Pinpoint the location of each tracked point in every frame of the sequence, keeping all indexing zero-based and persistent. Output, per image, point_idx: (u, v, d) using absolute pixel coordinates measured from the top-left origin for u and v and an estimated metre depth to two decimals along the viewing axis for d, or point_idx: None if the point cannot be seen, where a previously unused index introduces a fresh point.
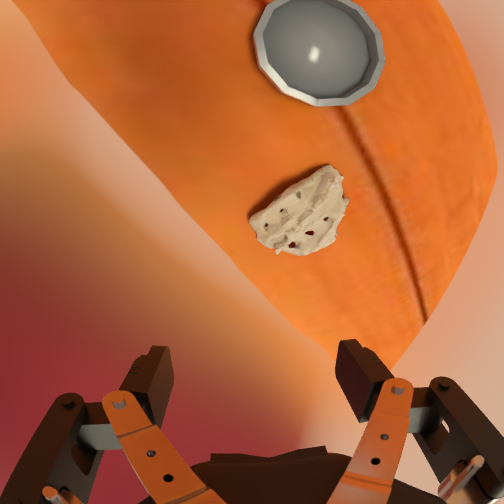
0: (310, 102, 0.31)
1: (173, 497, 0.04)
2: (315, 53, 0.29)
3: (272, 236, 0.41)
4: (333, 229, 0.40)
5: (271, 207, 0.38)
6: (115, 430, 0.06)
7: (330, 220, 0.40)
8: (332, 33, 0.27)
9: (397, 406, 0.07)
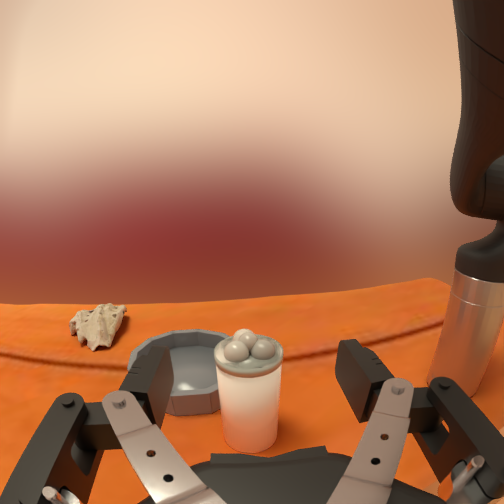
0: (153, 337, 0.42)
1: (173, 497, 0.04)
2: (185, 368, 0.38)
3: (109, 303, 0.54)
4: (78, 318, 0.45)
5: (122, 308, 0.52)
6: (115, 430, 0.06)
7: (83, 320, 0.45)
8: (195, 384, 0.35)
9: (398, 406, 0.07)
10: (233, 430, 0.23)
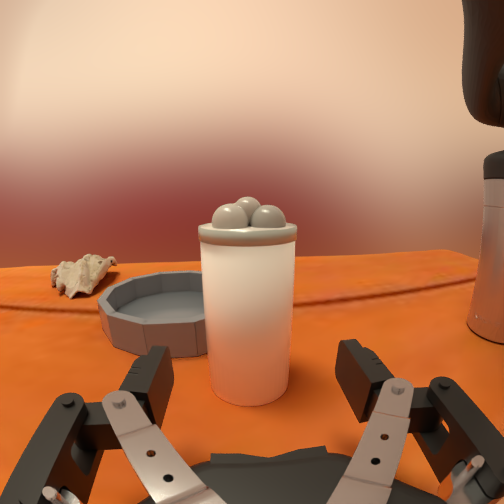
0: (136, 277, 0.36)
1: (173, 497, 0.04)
2: (170, 309, 0.32)
3: (97, 255, 0.48)
4: (60, 265, 0.39)
5: (111, 257, 0.46)
6: (115, 430, 0.06)
7: (65, 268, 0.39)
8: None
9: (397, 406, 0.07)
10: (222, 362, 0.17)
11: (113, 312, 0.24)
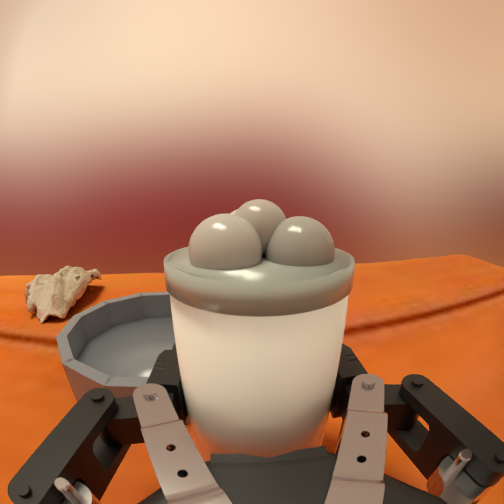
0: (111, 300, 0.27)
1: (173, 497, 0.04)
2: (151, 346, 0.23)
3: (79, 267, 0.39)
4: (33, 280, 0.31)
5: (92, 271, 0.37)
6: (140, 422, 0.07)
7: (39, 283, 0.31)
8: None
9: (371, 402, 0.07)
10: None
11: (71, 359, 0.15)
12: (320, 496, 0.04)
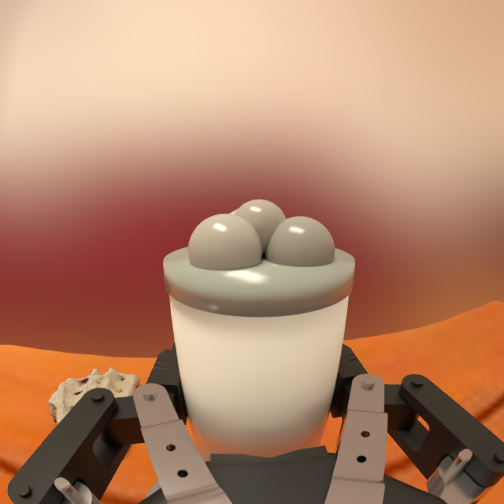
0: None
1: (173, 497, 0.04)
2: None
3: (110, 371, 0.31)
4: (59, 402, 0.22)
5: (132, 385, 0.29)
6: (140, 422, 0.07)
7: (67, 408, 0.22)
8: None
9: (371, 402, 0.07)
10: None
11: None
12: (320, 496, 0.04)
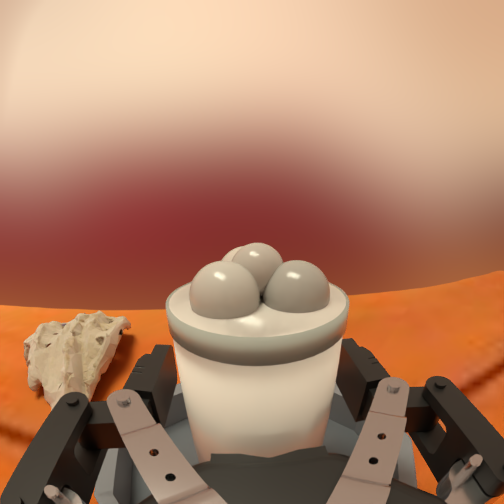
0: None
1: (173, 497, 0.04)
2: None
3: (98, 312, 0.28)
4: (33, 338, 0.20)
5: (120, 323, 0.26)
6: (119, 429, 0.06)
7: (42, 345, 0.20)
8: None
9: (393, 405, 0.07)
10: None
11: None
12: (327, 494, 0.04)
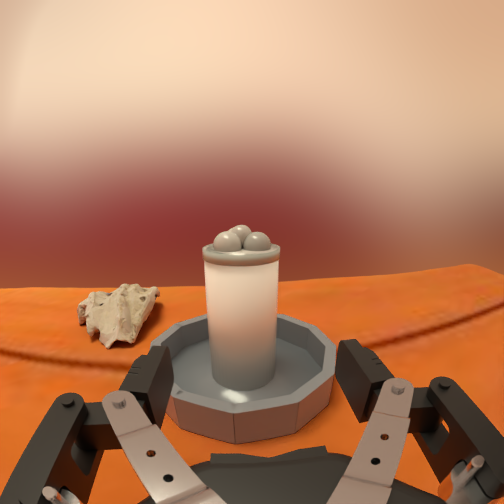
0: (182, 322, 0.30)
1: (173, 497, 0.04)
2: None
3: (135, 284, 0.41)
4: (89, 300, 0.33)
5: (154, 289, 0.39)
6: (115, 430, 0.06)
7: (97, 304, 0.33)
8: (257, 389, 0.22)
9: (397, 406, 0.07)
10: (221, 354, 0.22)
11: (180, 392, 0.18)
12: (329, 493, 0.04)
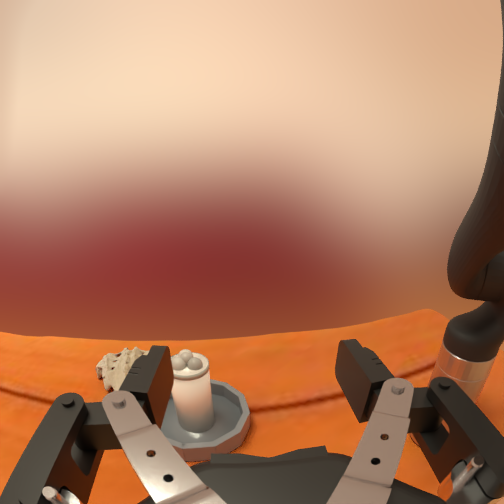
0: None
1: (173, 497, 0.04)
2: None
3: (135, 348, 0.55)
4: (104, 365, 0.47)
5: None
6: (115, 430, 0.06)
7: (109, 368, 0.47)
8: (202, 432, 0.36)
9: (397, 406, 0.07)
10: (180, 415, 0.36)
11: None
12: (329, 493, 0.04)
